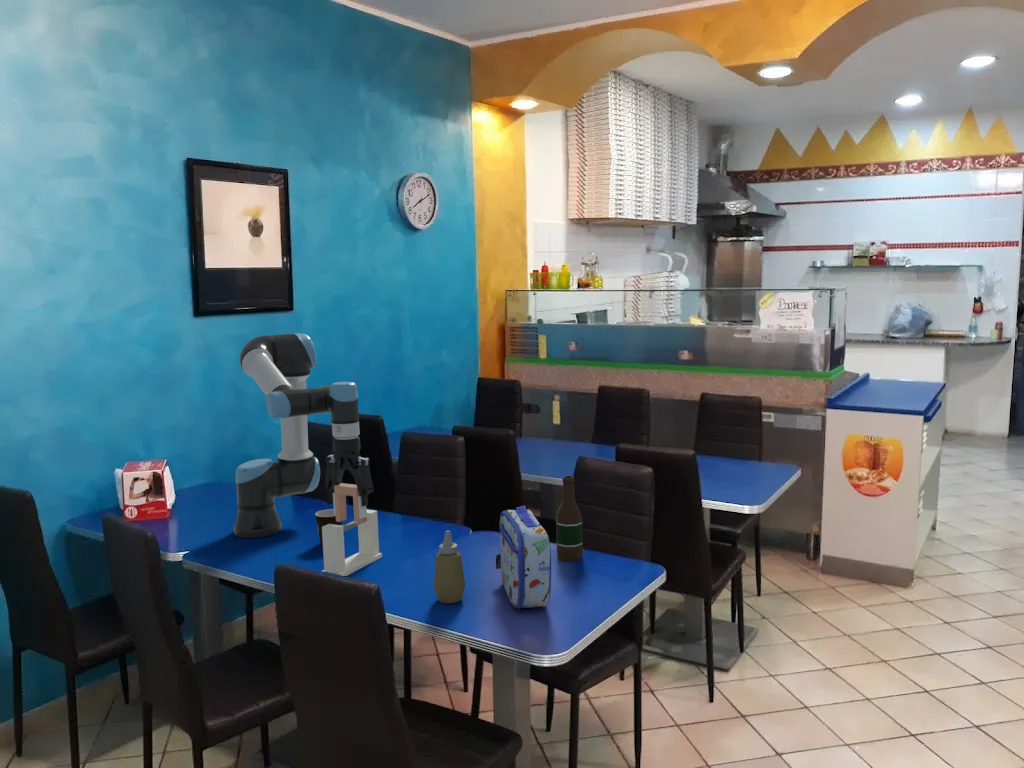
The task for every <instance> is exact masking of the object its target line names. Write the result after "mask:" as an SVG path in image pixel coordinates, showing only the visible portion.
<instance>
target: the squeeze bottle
mask: <svg viewBox="0 0 1024 768" xmlns="http://www.w3.org/2000/svg"><path fill="white" fill-rule="evenodd" d="M434 561H435V562H434V579H433V588H434V589H433V590H434V591H435V594H436V596H437V597H436V598H437V599H438V601H439V602H440V603H442V604H456V603H458V602H461V600H462V598H463V595H464V592H465V588H466V578H465V572H464V565H463V556H462V553H460V552H459V551H458V544H457V543H454V542H453V538H452V533H451V530H445V532H444V536H443V543H441V544H439V545H438V553H437V554H436V555H435V560H434Z"/></svg>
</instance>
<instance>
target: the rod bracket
mask: <svg viewBox="0 0 1024 768" xmlns="http://www.w3.org/2000/svg"><path fill="white" fill-rule="evenodd" d="M366 510H367V516H366V517H365V522H363V523H361V524H354V520H352V521H350V522H348V523H346V524H343V526H341V525H334V524H327V525H325V526H323V527H322V538H323V547H322V551H323V552H322V553H323V568H324V569H323V570H321V572H322V571H323V572H328V573H332V574H336V575H341V576H346V577H347V576H349V575H352V574H353V573H356V572H358V570H360V569H362V568H364V567H366V566H368V565H369V564H371V563H374V562H376V561H377V560H379V559H382V558H383V553H382V552H380V545H379V544H380V543H379V520H378V510H374V509H368V508H366ZM354 527H357V536H358V552H357V553H354V554H352V555H350V556H348V557H347V558H346V555H345V554H346V553H345V535H344V534H345V533H344V532H346V531H349V530H350V529H352V528H354Z"/></svg>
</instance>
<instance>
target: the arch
mask: <svg viewBox="0 0 1024 768" xmlns="http://www.w3.org/2000/svg"><path fill="white" fill-rule="evenodd" d="M334 494H335V512H336V521H337V522H341V521H343V522H344V521H346V520H347V519H348V518H347V517H348V515H347V514H348V513H347V503H346V502H347V499H346V496H348V497H352V502H353V503H352V505H353V519H354V520H353V521H354V524H361V523H363V522H365V517H363V518H359V510H358V495H360V493H359V490H358V488H357V485H356V484H353V483H352V484H351V483H343V482H341V483H340V484H337V485H334Z"/></svg>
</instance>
